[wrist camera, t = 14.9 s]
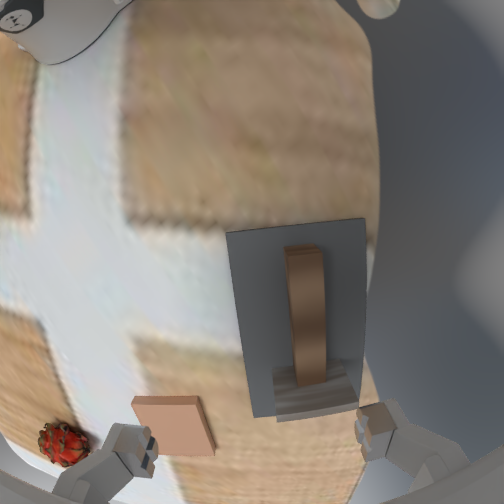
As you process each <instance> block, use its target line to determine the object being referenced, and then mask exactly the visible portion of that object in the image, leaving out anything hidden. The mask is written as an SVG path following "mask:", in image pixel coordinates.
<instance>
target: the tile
mask: <svg viewBox="0 0 504 504" xmlns="http://www.w3.org/2000/svg"><path fill="white" fill-rule="evenodd" d="M131 406H132V408H133V410H134V412H135V414H136V416H137V418H138V420H139V422H140V424H141V426H148V427H149V428H150V430H151V431H152V433H151V436H152V437H154V438H155V439H156V441H157V443H158V447H159V454H158V455H175V456H215V450H216V446H215V444H214V441H213V438H212V436H211V433H210V430H209V427H208V425H207V422H206V419H205V416H204V413H203V410H202V407H201V404H200V401H199V398H198V396H135V397H134V399H133V401H132V403H131Z"/></svg>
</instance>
